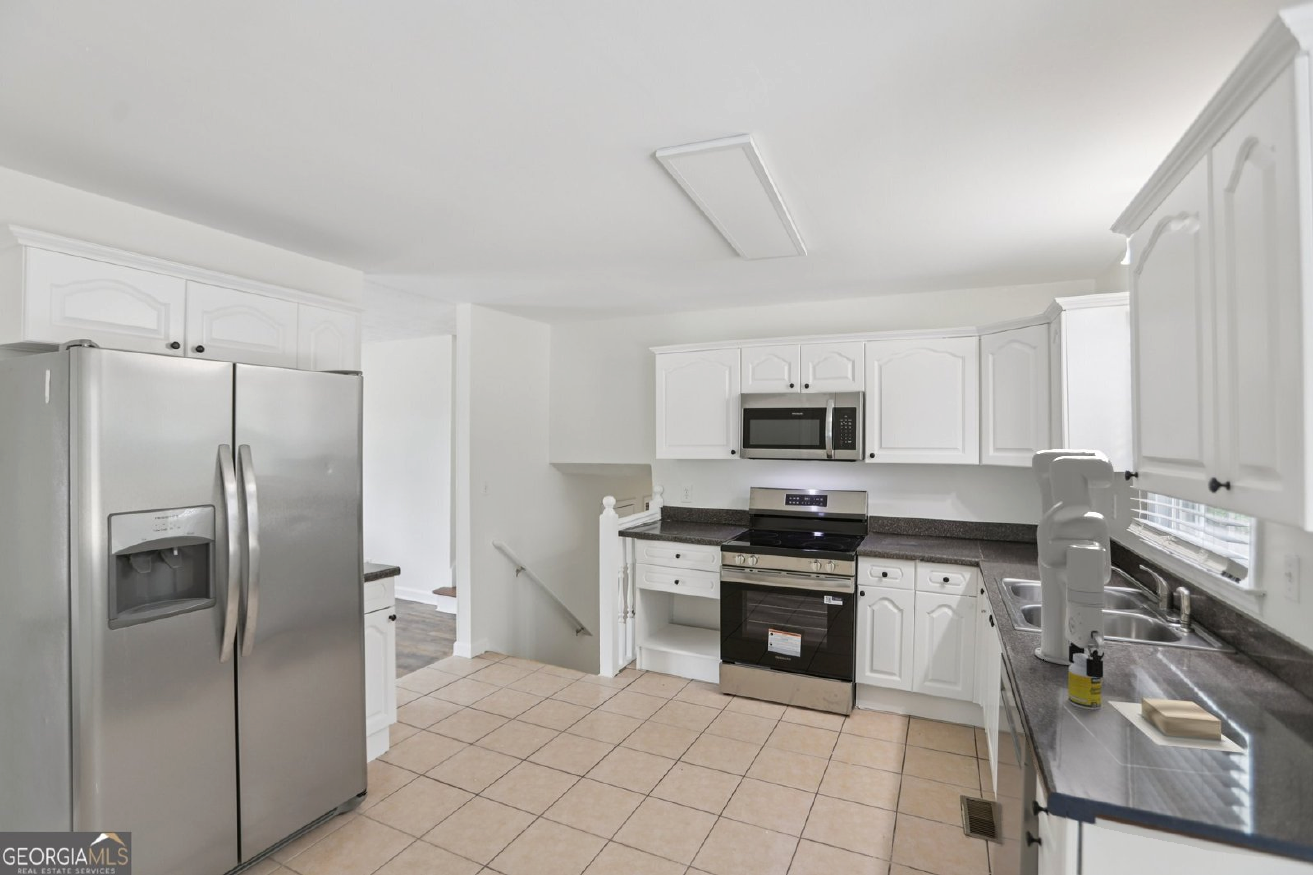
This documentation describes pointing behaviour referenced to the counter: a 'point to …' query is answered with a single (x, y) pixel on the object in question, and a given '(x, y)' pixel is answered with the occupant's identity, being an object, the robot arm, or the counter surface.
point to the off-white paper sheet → (1135, 716)
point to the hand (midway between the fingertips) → (1085, 669)
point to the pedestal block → (1181, 718)
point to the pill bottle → (1083, 685)
